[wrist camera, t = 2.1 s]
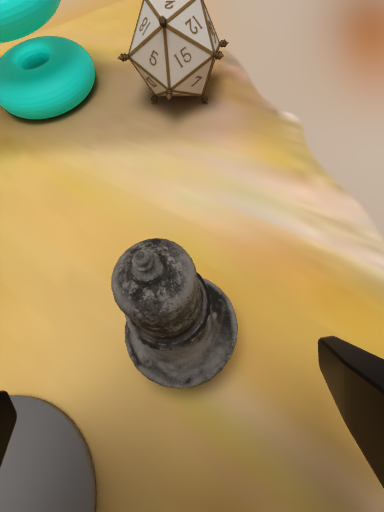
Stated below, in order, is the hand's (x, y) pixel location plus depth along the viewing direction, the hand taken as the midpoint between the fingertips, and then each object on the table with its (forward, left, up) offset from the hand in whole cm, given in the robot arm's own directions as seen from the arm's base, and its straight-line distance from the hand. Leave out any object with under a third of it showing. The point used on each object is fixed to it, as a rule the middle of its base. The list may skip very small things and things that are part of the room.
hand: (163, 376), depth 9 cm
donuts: (+32, 0, -10) cm, 34 cm away
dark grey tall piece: (+3, -1, -10) cm, 11 cm away
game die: (+24, -11, -10) cm, 28 cm away
